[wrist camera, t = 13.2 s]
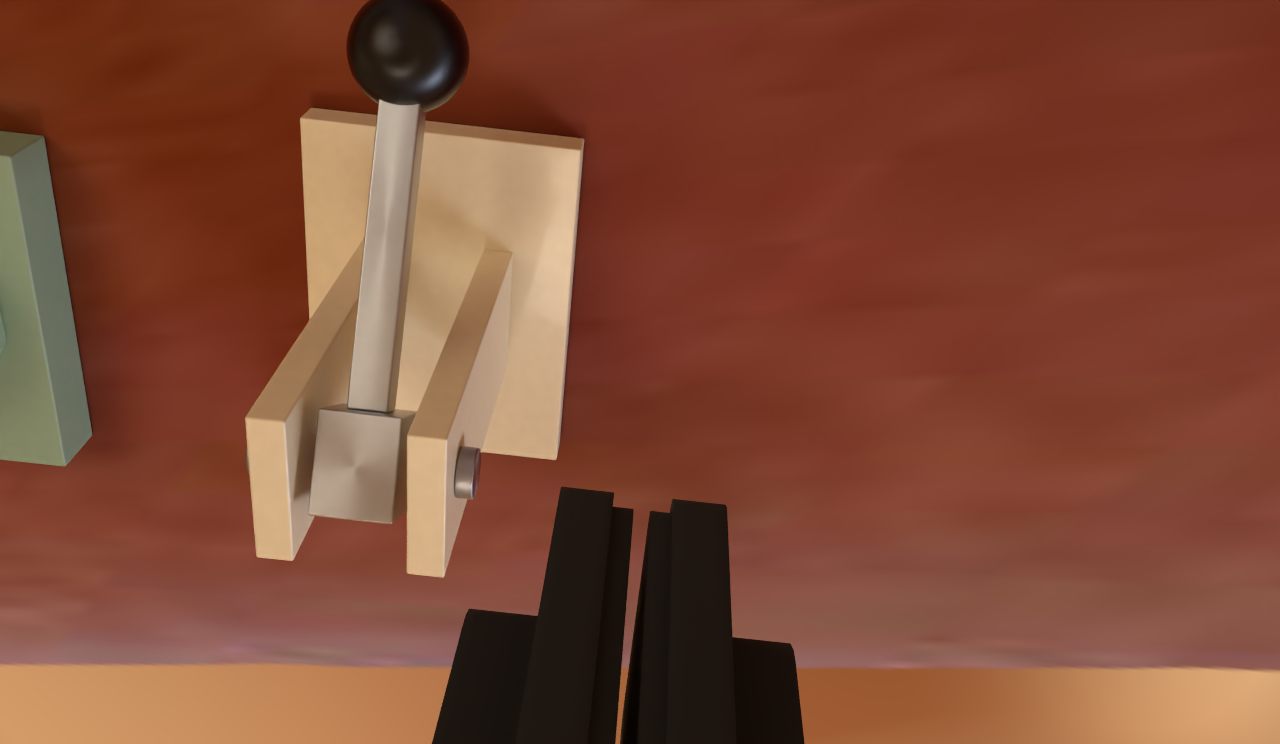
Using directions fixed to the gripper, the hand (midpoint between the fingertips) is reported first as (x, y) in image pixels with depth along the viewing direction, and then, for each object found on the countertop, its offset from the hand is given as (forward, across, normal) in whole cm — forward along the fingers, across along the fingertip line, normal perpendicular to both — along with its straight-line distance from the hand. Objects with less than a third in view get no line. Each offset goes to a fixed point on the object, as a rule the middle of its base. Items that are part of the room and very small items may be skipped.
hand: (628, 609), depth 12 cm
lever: (+20, +7, +6) cm, 22 cm away
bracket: (+27, +7, +10) cm, 30 cm away
